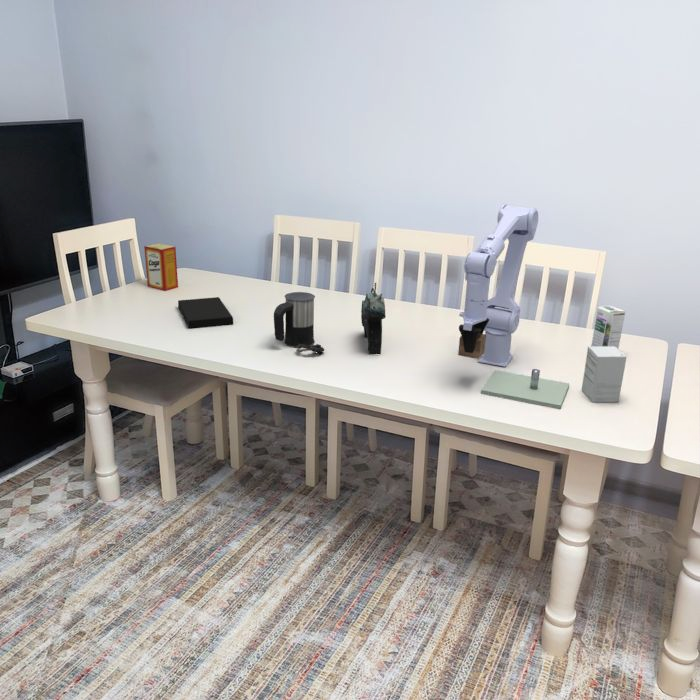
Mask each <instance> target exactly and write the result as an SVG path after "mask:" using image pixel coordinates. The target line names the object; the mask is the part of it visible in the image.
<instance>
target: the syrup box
mask: <svg viewBox="0 0 700 700" xmlns="http://www.w3.org/2000/svg"><path fill="white" fill-rule="evenodd" d="M625 315H626V310H623V309H621V308H618V307H615V306H612V305H602V306H597V311H596V315H595V321H594V329H593V334H592V340H591V346H592V347H612V346H614V347H616V348H617V349H618V350H619V347H620V343H621V337H622V332H623V327H624V321H625Z"/></svg>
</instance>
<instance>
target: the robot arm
mask: <svg viewBox="0 0 700 700" xmlns="http://www.w3.org/2000/svg"><path fill="white" fill-rule="evenodd" d="M496 222H497V225H496V226H495V228H494V230H493V232H492V233H491V234H487V235H486V236H485V237H484V238H483V240H482V241H481V242H480V244H479V245H478V247H477V248H476V249H475V251H471V252H469V253H467V255H466V257H465V259H464V264H463V270H464V273H465V274H464V275H465V276H464V279H465V281H466V285H465V286H466V287H465V297H464V298H465V301H464V310H463V311H461V312H459V317H461V318H462V319H463V324H460V325H459V326H458V331H459V333H460V336H461V335H462V338H463V344H464V350H465V352H469V353H473V351H474V348H475V344H476V340H477V337H478V335H479V334H486V341H485V351H484V353H483V355H482V356H481V357H480V358H479V359H478V363H482V364H487V365H493V366H497V367H505V368H506V367H507V366H508V365H509V363H510V362H511V360H512V358H513V357H514V354H511V344H512V337H513V336H512V334H514V333H515V332H516V331H517V330H518V327H519V324H520V315H521V308H520V306H519V305H518V303H517V302H516V301H515V300H514V296H515V291H516V288H517V284H518V279H519V275H520V272H521V268H522V263H523V260H524V259H523V258H524V255H525V251H526V249H527V245H528V242H530V241H533V240H534V238H535V235H536V232H537V228H538V223H539V212H538V209H537V208H536V207H524V206H516V205H508V204H503V205H502V206H500V208H499V209H498V213H497V221H496ZM506 240H508V244H507V249H506V253H505V256H504V259H503V260H504V261H503V264H502V269H501V274H500V278H499V281H498V285H497V290H496V292H495V293H496V294H495V296H493V297H491V298H489V291H490V284H491V277H492V276H493V274H494V272H495V268H496V265H497V263H498V261H497V260H498V259H499V257H500V256H501V254H502V253H503V251H504V250H505V246H506V245H505V244H506V243H505V242H506ZM484 332H485V333H484Z"/></svg>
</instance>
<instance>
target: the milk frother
mask: <svg viewBox="0 0 700 700" xmlns="http://www.w3.org/2000/svg"><path fill="white" fill-rule="evenodd" d="M284 298H285V302H282V303H280V304H278V305H277V306H276V308H275V309H274V312H273V327H274V338H275V340H276V341H279V342H284V344H285V345H286V344H287V345H286V346H288V345H289V347H292V346H293V348H302V349H308V350H309V351H311V352H313V353H315V352H317V353H316V354H320V353H321V352H324V351H325V348H324V347H323V346H322V345H321V344H318V343H317V344H315V343H316V342H315V337H314V336H315V333H314V328H315V327H314V326H315V325H314V322H315V321H314V320H315V319H314V317H315V315H314V314H315V313H314V311H315V298H316V296H315V294H313V293H310V292H306V291H293V292H289V293H286V294H285V295H284ZM284 319H285V321H284Z"/></svg>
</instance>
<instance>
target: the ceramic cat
mask: <svg viewBox="0 0 700 700" xmlns="http://www.w3.org/2000/svg"><path fill="white" fill-rule="evenodd" d="M376 290H377V282H375V283H374V288H373V287H372V288H371V290H370V292H367V293H366V295H365V299H364V300H363V299H362V301H361V308H360V309H361V311H360V313H361V314H360V316H361V317H360V319H361V326H362V327H363V335H364V338H366V339H367V351H368V354H369V355H370V354H380V355H381V353H382V341H383V320H384V319H386V317H387V315H386V304H385V302H386V301H385V299H384V297H383V293H380V294H379V295H378V293H377V291H376Z"/></svg>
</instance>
